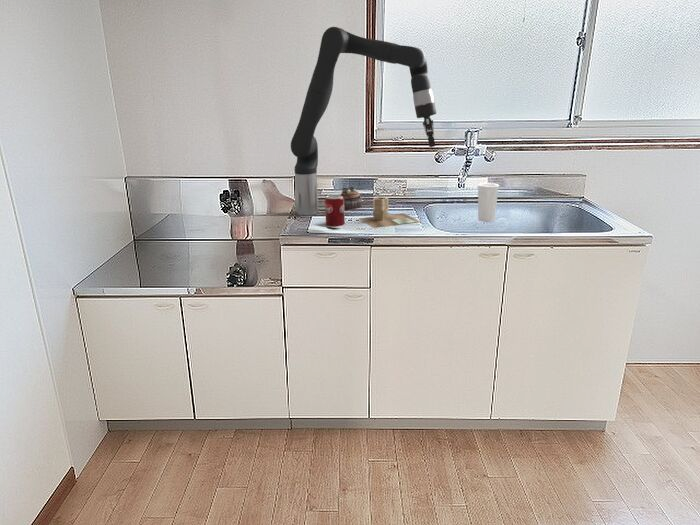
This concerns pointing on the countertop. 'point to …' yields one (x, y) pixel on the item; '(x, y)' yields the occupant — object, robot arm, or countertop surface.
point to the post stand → (390, 220)
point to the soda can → (334, 211)
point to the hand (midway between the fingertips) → (432, 146)
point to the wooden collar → (380, 208)
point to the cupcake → (351, 198)
